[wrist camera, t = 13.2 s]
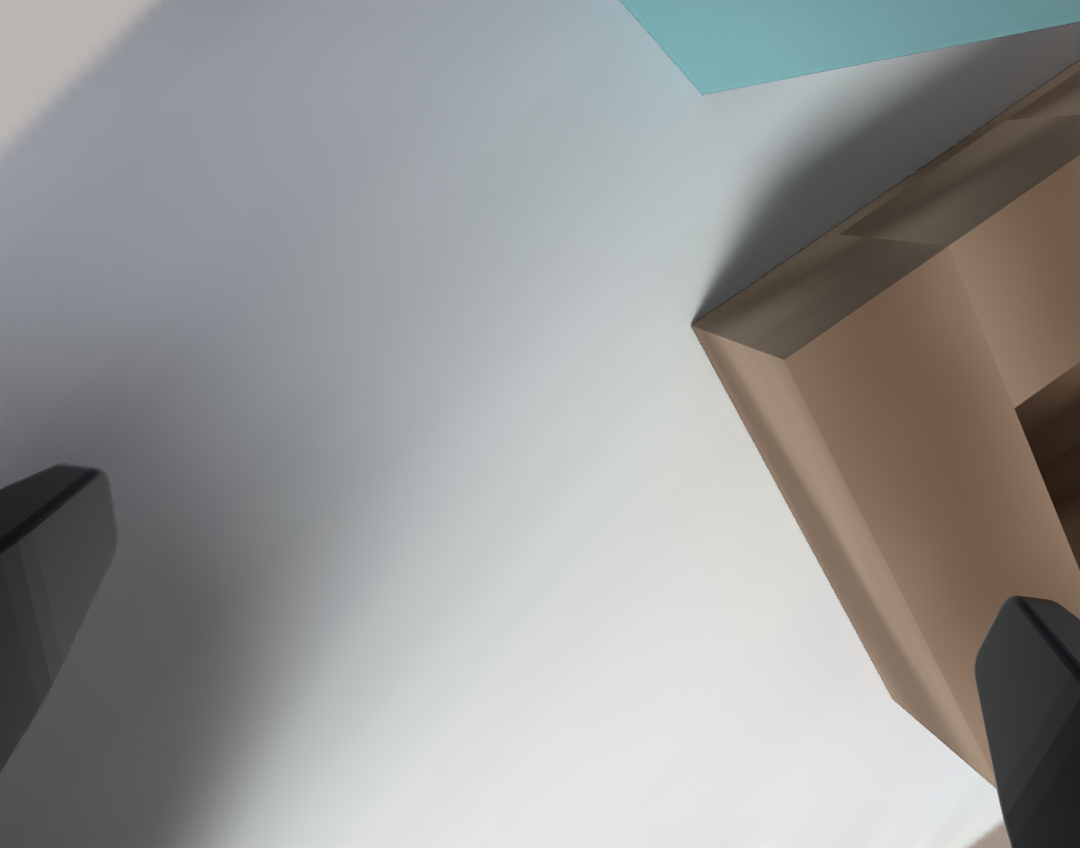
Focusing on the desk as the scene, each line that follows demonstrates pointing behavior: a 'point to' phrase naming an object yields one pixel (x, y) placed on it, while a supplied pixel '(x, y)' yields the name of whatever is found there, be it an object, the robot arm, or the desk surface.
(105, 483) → the robot arm
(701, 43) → the plug
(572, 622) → the desk surface
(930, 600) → the brown flat block
